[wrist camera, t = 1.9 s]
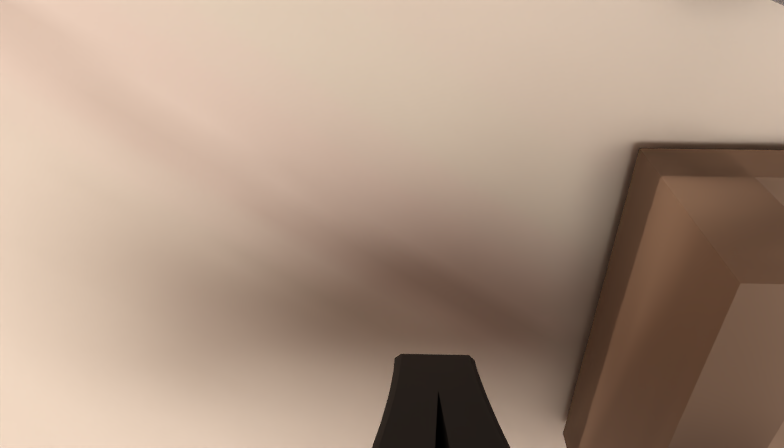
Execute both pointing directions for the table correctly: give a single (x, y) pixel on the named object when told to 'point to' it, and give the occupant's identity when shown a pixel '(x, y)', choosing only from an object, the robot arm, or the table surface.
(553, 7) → the table surface
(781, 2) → the strip
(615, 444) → the strip
